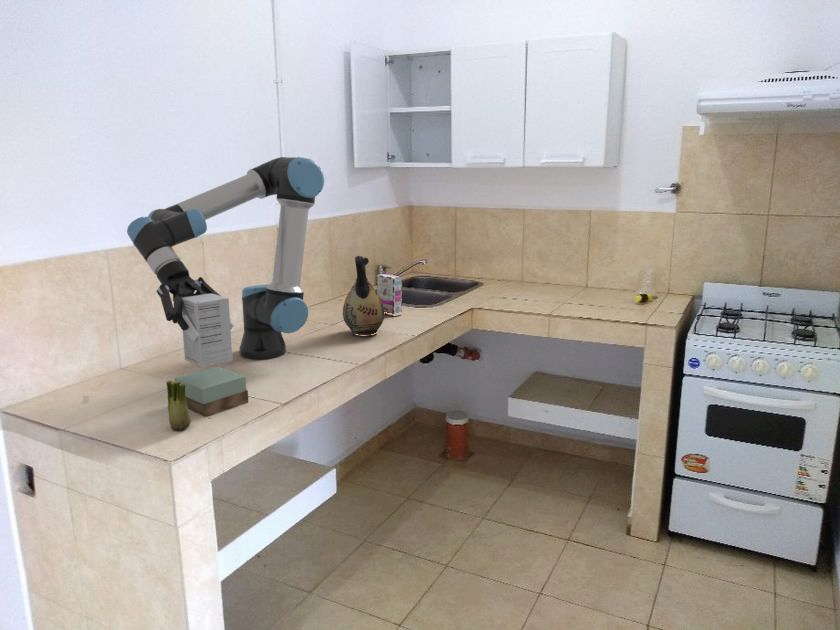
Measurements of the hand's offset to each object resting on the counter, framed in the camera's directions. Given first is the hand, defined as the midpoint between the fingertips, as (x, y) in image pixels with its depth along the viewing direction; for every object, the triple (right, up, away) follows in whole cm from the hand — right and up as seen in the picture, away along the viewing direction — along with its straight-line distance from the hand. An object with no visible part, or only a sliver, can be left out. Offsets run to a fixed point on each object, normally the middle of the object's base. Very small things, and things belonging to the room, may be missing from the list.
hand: (214, 333), depth 167 cm
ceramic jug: (+32, -3, +74) cm, 81 cm away
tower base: (-2, -20, +6) cm, 21 cm away
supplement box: (-3, -7, +3) cm, 8 cm away
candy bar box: (+40, +5, +106) cm, 114 cm away
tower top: (-3, -16, +5) cm, 17 cm away
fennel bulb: (-5, -23, -9) cm, 25 cm away
